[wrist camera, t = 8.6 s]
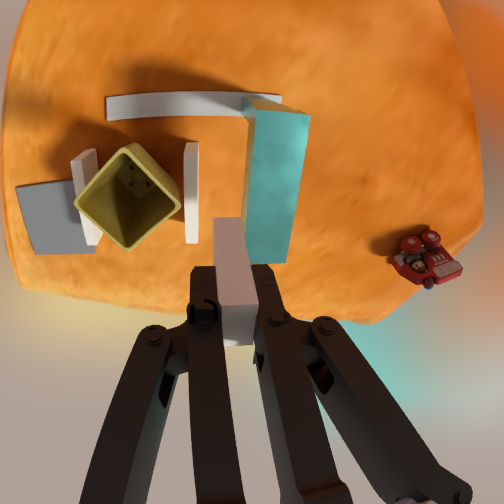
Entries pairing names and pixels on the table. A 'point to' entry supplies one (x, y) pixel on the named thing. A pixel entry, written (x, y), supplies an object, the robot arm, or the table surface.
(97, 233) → the white bars
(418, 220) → the table surface
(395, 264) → the toy fire truck
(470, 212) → the table surface
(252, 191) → the gate
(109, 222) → the flower pot
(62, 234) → the mat
